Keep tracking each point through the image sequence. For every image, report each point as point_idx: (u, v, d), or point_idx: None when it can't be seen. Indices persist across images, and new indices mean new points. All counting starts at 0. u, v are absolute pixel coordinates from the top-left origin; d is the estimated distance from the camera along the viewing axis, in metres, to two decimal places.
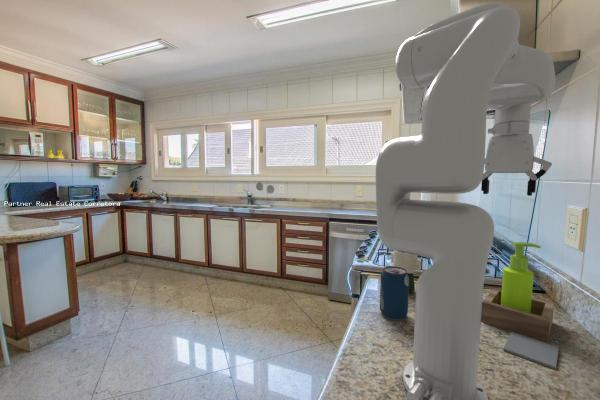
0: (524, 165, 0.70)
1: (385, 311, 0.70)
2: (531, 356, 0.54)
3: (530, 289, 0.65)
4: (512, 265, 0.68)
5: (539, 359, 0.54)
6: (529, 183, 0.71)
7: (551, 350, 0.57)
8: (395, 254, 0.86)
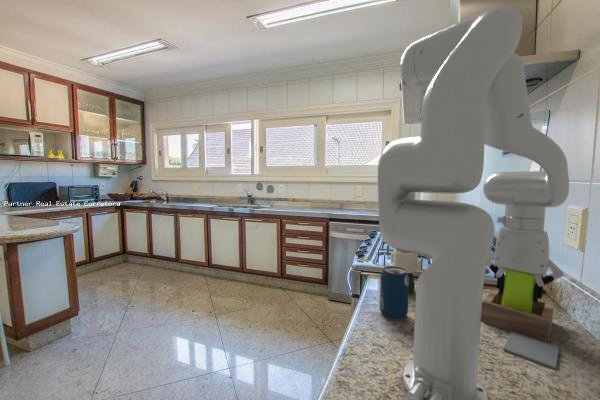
0: (539, 268, 0.63)
1: (385, 311, 0.70)
2: (531, 356, 0.54)
3: (532, 289, 0.65)
4: None
5: (539, 359, 0.54)
6: (535, 289, 0.65)
7: (551, 350, 0.57)
8: (395, 254, 0.86)
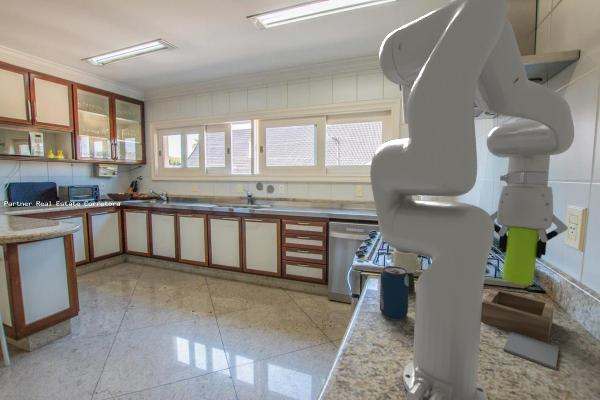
0: (542, 222, 0.62)
1: (385, 311, 0.70)
2: (531, 356, 0.54)
3: (536, 246, 0.64)
4: None
5: (539, 359, 0.54)
6: (539, 245, 0.63)
7: (551, 350, 0.57)
8: (395, 254, 0.86)
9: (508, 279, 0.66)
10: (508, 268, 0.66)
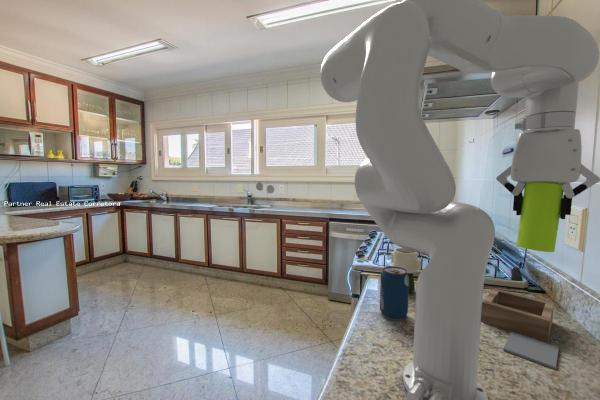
0: (569, 173, 0.50)
1: (385, 311, 0.70)
2: (531, 356, 0.54)
3: (559, 203, 0.52)
4: None
5: (539, 359, 0.54)
6: (563, 202, 0.52)
7: (551, 350, 0.57)
8: (395, 254, 0.86)
9: (525, 246, 0.55)
10: (525, 232, 0.55)
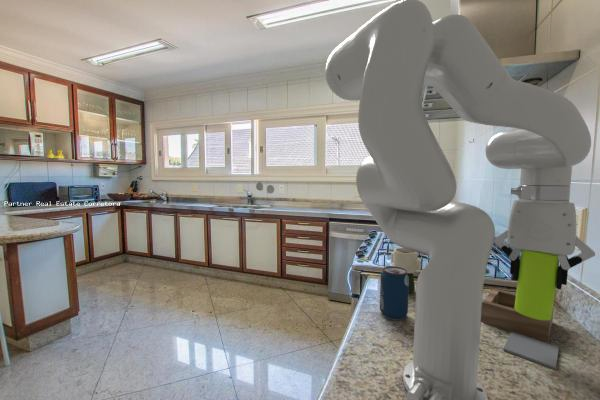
0: (564, 246, 0.51)
1: (385, 311, 0.70)
2: (531, 356, 0.54)
3: (555, 273, 0.53)
4: None
5: (539, 359, 0.54)
6: (559, 273, 0.53)
7: (551, 350, 0.57)
8: (395, 254, 0.86)
9: (522, 312, 0.56)
10: (522, 299, 0.56)
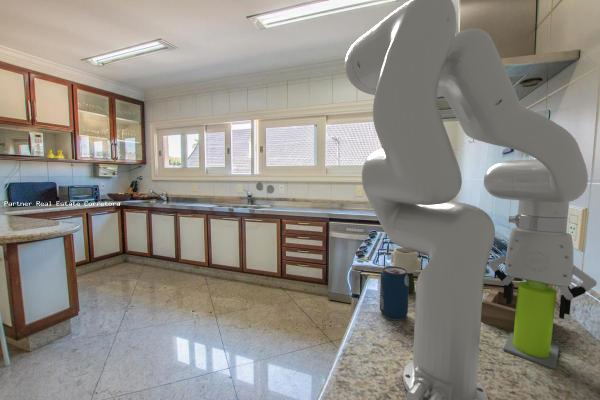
0: (561, 278, 0.52)
1: (385, 311, 0.70)
2: (531, 356, 0.54)
3: (552, 311, 0.53)
4: (529, 281, 0.55)
5: (539, 359, 0.54)
6: (562, 303, 0.53)
7: (551, 350, 0.57)
8: (395, 254, 0.86)
9: (521, 349, 0.56)
10: (520, 336, 0.56)
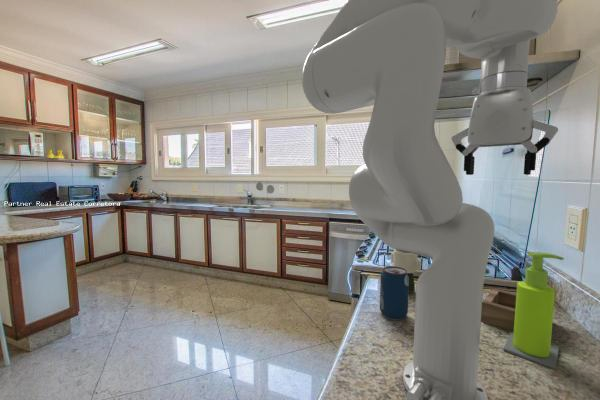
0: (520, 132, 0.51)
1: (385, 311, 0.70)
2: (531, 356, 0.54)
3: (551, 310, 0.54)
4: (528, 280, 0.56)
5: (539, 359, 0.54)
6: (527, 157, 0.51)
7: (551, 350, 0.57)
8: (395, 254, 0.86)
9: (520, 348, 0.56)
10: (520, 335, 0.56)
